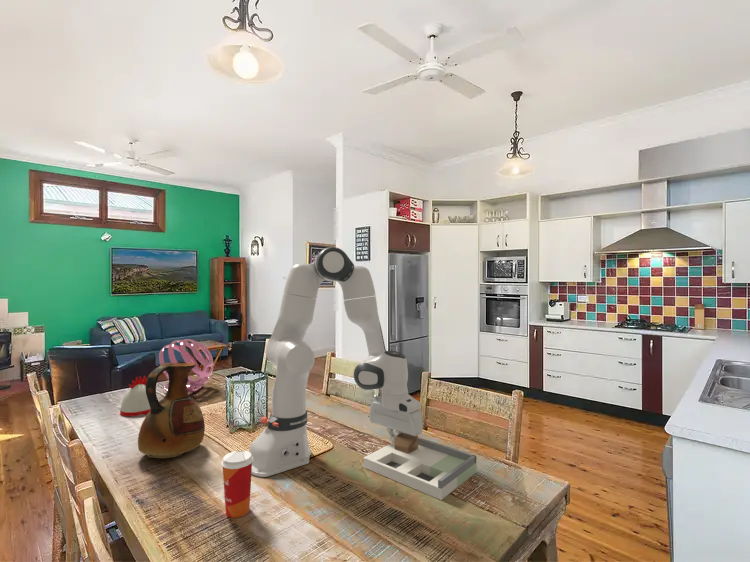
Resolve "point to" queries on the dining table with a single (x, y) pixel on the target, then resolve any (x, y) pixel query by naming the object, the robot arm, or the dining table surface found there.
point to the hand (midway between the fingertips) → (394, 441)
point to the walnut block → (405, 443)
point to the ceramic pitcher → (171, 415)
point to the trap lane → (424, 467)
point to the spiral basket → (190, 359)
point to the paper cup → (237, 482)
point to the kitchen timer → (135, 399)
